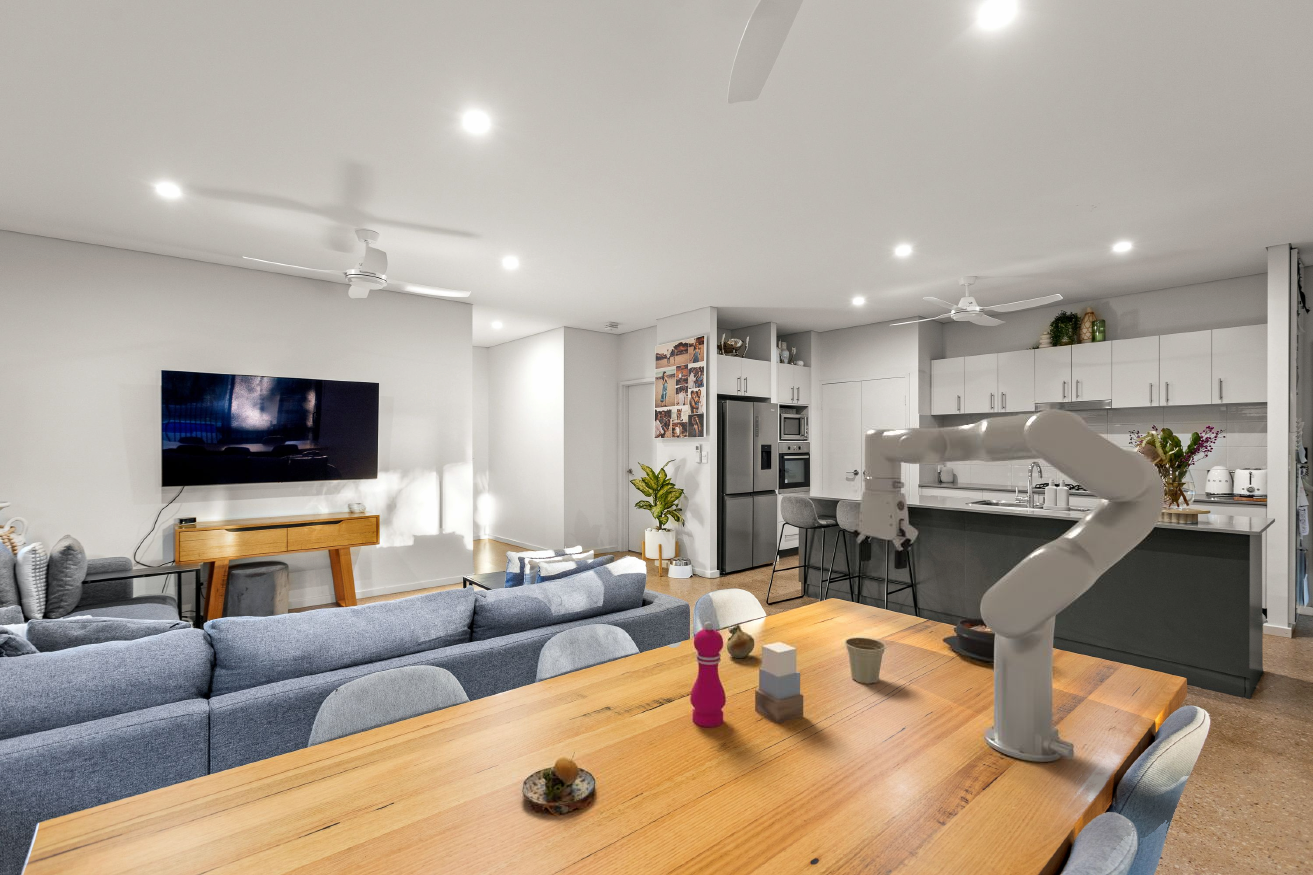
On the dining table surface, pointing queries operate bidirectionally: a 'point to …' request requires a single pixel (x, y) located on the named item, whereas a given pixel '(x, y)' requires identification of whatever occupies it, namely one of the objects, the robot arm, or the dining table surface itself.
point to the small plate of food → (559, 788)
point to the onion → (739, 643)
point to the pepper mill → (708, 679)
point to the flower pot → (865, 659)
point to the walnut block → (778, 707)
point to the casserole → (973, 640)
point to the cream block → (779, 659)
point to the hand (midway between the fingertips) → (882, 564)
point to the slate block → (779, 684)
